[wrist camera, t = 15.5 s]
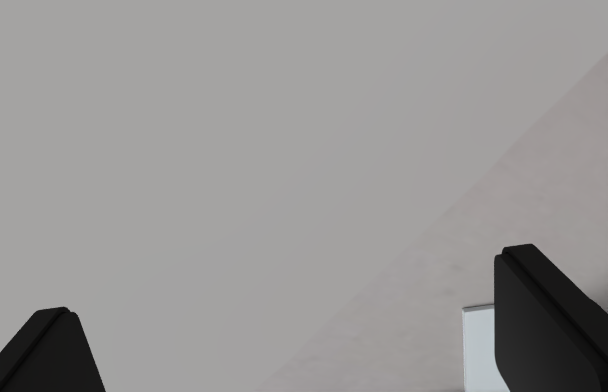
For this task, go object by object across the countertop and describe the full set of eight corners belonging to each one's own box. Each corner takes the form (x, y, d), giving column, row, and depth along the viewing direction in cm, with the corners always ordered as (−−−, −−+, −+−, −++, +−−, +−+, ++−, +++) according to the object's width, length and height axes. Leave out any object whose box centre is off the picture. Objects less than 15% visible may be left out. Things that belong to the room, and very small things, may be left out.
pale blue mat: (572, 294, 44) (576, 297, 43) (567, 381, 47) (570, 385, 47) (462, 308, 44) (464, 312, 44) (464, 394, 48) (466, 398, 47)
